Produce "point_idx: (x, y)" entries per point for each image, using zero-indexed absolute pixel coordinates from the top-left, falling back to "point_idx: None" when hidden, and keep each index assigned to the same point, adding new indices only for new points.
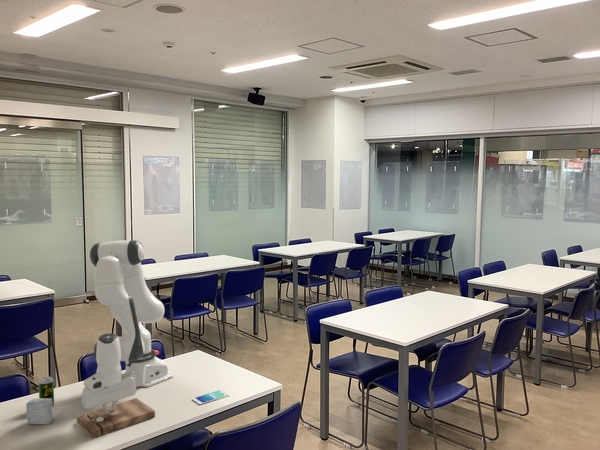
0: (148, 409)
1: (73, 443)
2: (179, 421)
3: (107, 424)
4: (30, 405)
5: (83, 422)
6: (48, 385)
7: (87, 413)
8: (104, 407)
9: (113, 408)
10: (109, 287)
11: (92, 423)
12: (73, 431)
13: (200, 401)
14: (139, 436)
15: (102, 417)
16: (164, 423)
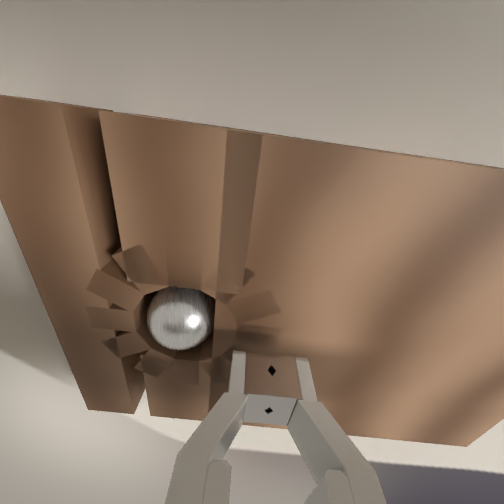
0: (471, 424)
1: (10, 349)
2: (434, 465)
3: (185, 405)
4: None
5: (38, 289)
6: None
7: (106, 125)
8: (212, 408)
9: (288, 420)
10: None
11: (105, 346)
12: (6, 236)
13: None
14: (265, 450)
15: (192, 344)
16: (395, 449)
